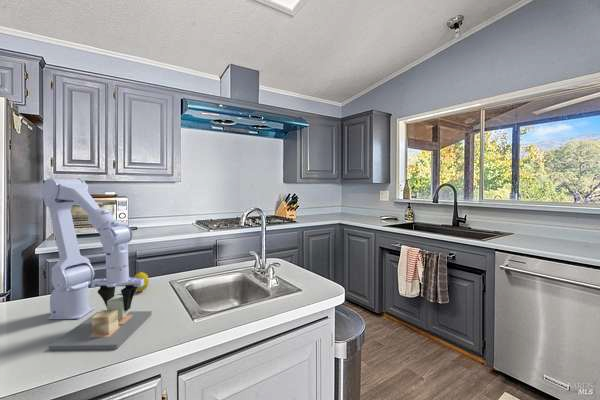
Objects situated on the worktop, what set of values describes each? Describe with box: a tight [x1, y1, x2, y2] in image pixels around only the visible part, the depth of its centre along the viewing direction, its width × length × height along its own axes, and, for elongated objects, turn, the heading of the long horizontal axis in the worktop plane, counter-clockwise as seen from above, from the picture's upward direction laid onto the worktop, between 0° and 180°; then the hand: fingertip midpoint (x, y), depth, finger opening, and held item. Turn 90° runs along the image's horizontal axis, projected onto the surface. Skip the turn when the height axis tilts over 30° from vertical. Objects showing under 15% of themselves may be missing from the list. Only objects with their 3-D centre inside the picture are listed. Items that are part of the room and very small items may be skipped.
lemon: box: [133, 271, 150, 293], centre depth 112 cm, size 6×6×8 cm
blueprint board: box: [48, 310, 152, 351], centre depth 83 cm, size 17×19×1 cm
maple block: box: [92, 309, 118, 335], centre depth 81 cm, size 4×4×5 cm
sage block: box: [106, 294, 132, 317], centre depth 87 cm, size 4×4×5 cm
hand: (119, 309), depth 87 cm, fingers closed on sage block, 4 cm apart
